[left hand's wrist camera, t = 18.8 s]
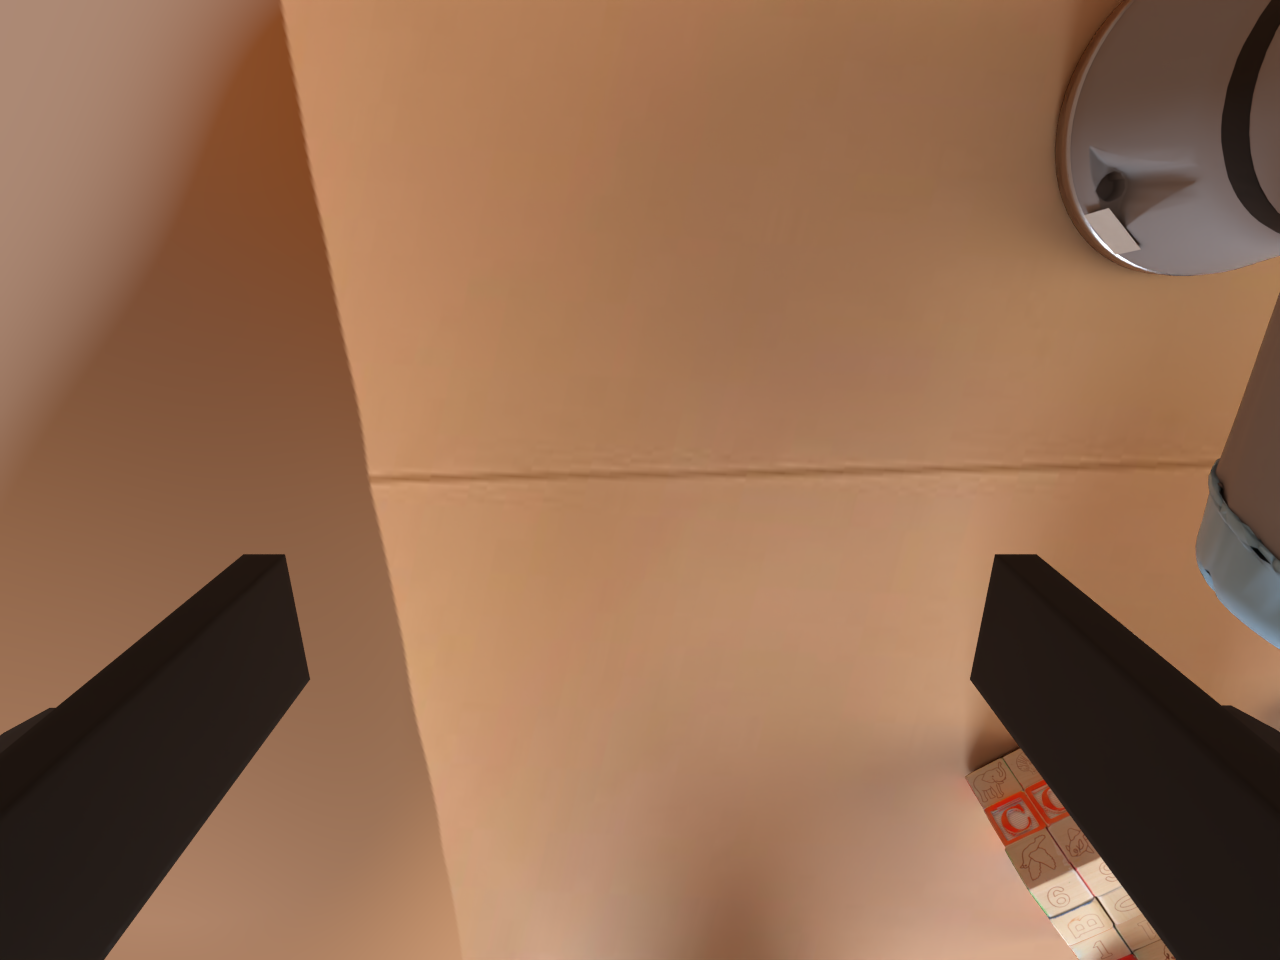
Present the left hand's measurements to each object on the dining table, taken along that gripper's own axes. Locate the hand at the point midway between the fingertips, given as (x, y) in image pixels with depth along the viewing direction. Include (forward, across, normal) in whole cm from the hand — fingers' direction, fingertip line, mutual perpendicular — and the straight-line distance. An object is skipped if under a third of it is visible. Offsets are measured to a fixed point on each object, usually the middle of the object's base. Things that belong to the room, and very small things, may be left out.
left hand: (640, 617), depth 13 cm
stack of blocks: (+28, +32, -38) cm, 57 cm away
